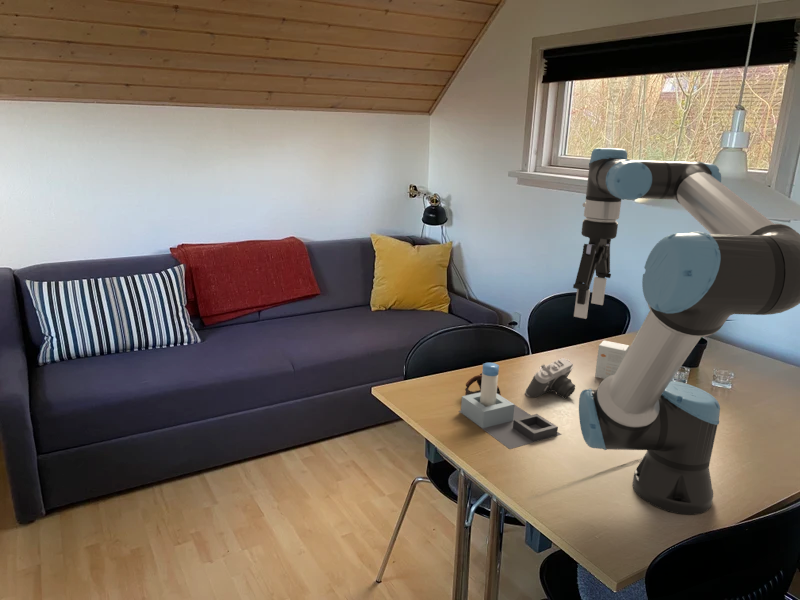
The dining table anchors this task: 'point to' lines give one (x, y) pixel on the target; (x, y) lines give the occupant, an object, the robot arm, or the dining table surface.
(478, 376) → the brown arched frame
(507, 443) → the mat
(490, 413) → the block
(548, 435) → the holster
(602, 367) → the small box
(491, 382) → the plug
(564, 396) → the camera
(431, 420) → the dining table surface
